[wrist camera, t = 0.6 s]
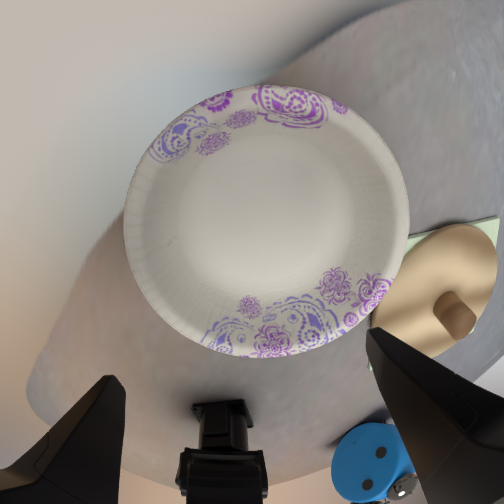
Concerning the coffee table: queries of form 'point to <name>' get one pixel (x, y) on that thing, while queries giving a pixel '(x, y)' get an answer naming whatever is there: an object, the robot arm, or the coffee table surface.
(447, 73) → the coffee table surface
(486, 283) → the lid
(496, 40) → the coffee table surface
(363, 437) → the alarm clock
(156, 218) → the white and purple bowl
